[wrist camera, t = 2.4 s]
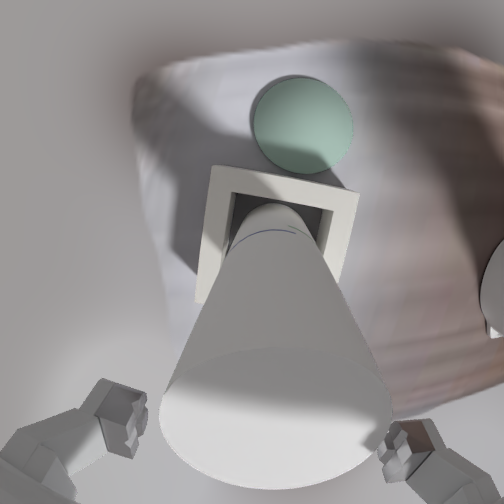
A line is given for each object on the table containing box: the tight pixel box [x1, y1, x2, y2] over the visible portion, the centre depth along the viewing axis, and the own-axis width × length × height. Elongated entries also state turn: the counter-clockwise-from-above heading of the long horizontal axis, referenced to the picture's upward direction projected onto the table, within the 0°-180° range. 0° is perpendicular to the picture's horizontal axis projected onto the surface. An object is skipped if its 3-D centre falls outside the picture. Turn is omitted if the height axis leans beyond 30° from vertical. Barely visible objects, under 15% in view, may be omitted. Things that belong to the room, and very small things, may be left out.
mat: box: [254, 78, 353, 174], centre depth 28 cm, size 10×10×1 cm
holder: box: [195, 165, 360, 304], centre depth 29 cm, size 13×13×5 cm
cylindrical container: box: [159, 203, 393, 489], centre depth 20 cm, size 7×7×25 cm
